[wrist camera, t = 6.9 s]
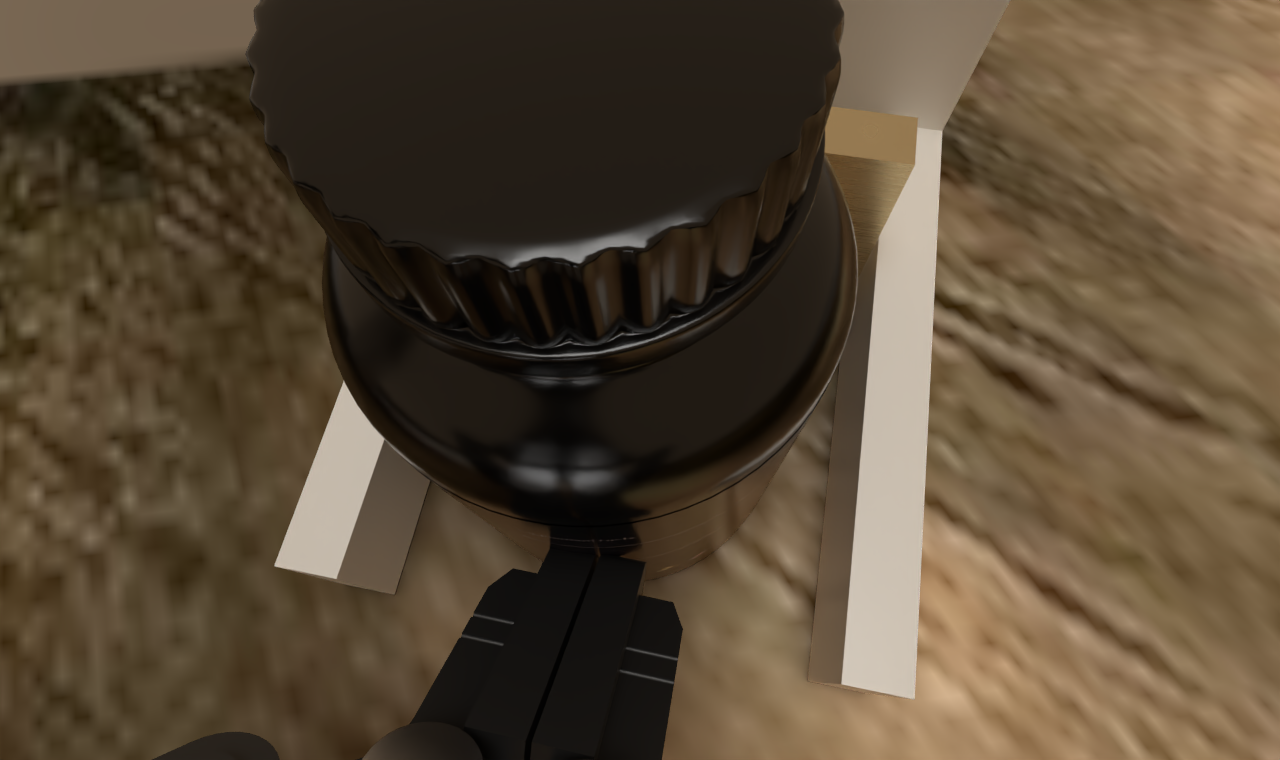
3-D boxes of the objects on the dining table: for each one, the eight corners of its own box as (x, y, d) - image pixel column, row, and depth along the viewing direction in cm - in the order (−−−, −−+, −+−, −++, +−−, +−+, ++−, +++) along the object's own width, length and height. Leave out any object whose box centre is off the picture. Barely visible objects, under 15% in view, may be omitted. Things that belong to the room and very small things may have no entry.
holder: (343, 583, 16) (143, 531, 10) (501, 118, 20) (433, -111, 14) (866, 693, 15) (1010, 711, 9) (903, 173, 19) (1012, -50, 13)
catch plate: (500, 274, 18) (428, 98, 12) (510, 241, 18) (444, 56, 13) (833, 327, 17) (914, 165, 12) (837, 291, 18) (918, 117, 12)
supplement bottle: (452, 354, 18) (97, -175, 7) (712, 279, 18) (789, -324, 7) (516, 634, 15) (115, 543, 4) (815, 536, 16) (1180, 223, 5)
